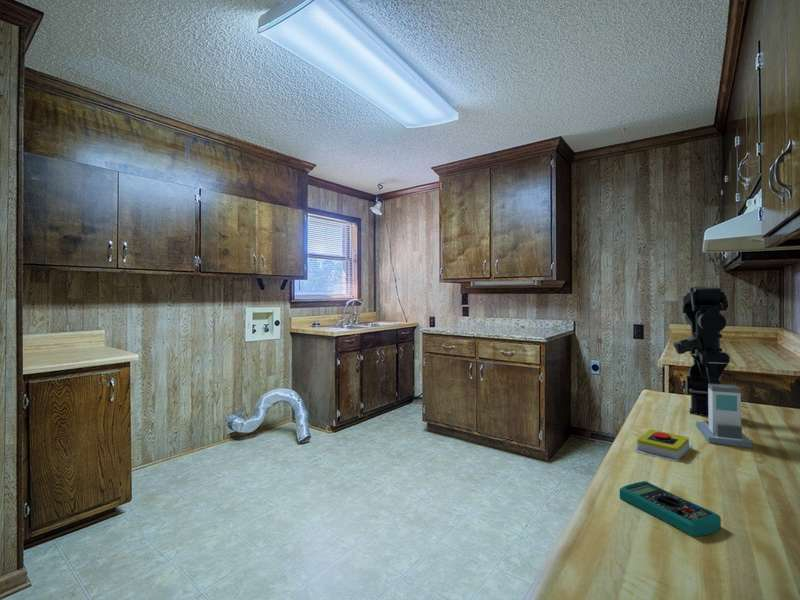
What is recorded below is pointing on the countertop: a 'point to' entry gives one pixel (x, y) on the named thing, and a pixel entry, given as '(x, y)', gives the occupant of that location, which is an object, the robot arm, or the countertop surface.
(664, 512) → the digital multimeter
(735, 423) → the block
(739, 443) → the rail board
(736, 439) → the steel rail
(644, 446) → the emergency button
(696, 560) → the countertop surface
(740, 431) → the end clamps
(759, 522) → the countertop surface
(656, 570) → the countertop surface
